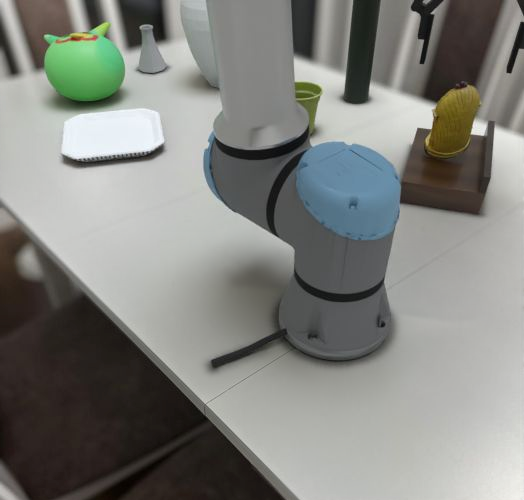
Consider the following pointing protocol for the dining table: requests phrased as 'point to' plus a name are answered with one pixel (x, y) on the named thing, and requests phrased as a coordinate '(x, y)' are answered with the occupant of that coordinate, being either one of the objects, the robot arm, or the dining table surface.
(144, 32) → the flask
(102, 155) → the plate
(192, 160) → the dining table surface
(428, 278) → the dining table surface
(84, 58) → the toy bird
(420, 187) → the brown boxy piece
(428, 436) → the dining table surface
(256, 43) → the robot arm
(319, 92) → the plant pot
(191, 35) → the vase
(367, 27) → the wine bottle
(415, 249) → the dining table surface
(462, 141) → the yellow curved piece
